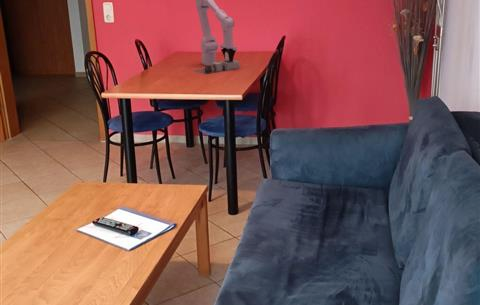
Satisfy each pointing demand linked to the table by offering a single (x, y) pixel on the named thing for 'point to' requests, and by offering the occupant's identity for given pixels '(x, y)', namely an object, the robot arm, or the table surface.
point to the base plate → (211, 72)
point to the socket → (230, 65)
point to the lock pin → (209, 68)
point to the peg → (227, 57)
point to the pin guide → (217, 66)
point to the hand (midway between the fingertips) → (228, 60)
